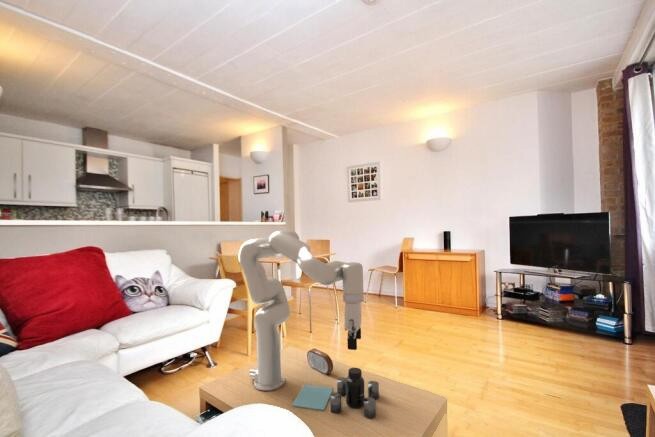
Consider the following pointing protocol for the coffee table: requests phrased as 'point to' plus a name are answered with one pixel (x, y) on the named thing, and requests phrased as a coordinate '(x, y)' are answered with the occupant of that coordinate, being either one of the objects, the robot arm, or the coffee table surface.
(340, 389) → the cylinder
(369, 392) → the spacer back right
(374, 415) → the cylinder
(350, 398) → the supplement bottle
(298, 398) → the teal board
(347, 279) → the robot arm
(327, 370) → the tin
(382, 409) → the coffee table surface
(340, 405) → the cylinder
